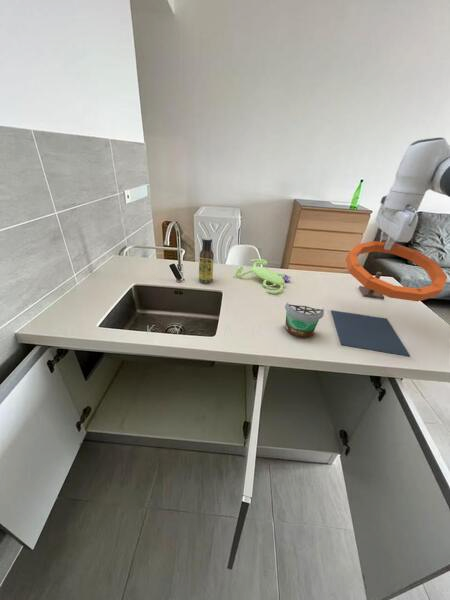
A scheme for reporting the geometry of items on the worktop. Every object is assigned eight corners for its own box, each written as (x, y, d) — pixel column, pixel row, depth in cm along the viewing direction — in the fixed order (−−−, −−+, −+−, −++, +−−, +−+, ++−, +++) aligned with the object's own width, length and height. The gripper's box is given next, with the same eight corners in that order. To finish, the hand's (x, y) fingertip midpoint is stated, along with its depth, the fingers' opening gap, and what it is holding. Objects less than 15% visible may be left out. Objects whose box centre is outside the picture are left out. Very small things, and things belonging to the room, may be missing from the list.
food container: (279, 336, 79) (285, 311, 74) (280, 325, 84) (285, 301, 79) (319, 343, 77) (327, 318, 72) (317, 332, 82) (325, 307, 77)
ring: (421, 253, 80) (426, 246, 78) (456, 307, 62) (463, 299, 61) (342, 244, 83) (344, 237, 82) (353, 292, 66) (357, 285, 64)
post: (377, 290, 110) (386, 270, 105) (383, 299, 104) (393, 278, 98) (358, 288, 112) (366, 267, 106) (363, 296, 105) (372, 275, 100)
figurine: (255, 265, 128) (257, 255, 125) (299, 284, 112) (301, 273, 109) (230, 274, 117) (231, 263, 115) (274, 296, 101) (276, 284, 98)
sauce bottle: (197, 283, 108) (196, 239, 98) (201, 277, 113) (201, 235, 103) (211, 285, 107) (212, 241, 97) (214, 279, 112) (215, 236, 102)
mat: (386, 319, 91) (386, 318, 91) (409, 356, 74) (410, 355, 74) (330, 311, 94) (331, 310, 94) (341, 345, 77) (341, 344, 77)
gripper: (431, 210, 63) (408, 259, 71) (400, 198, 80) (383, 239, 88) (405, 208, 64) (384, 257, 72) (379, 196, 81) (365, 237, 89)
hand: (384, 247), depth 80 cm, fingers closed on ring, 2 cm apart
